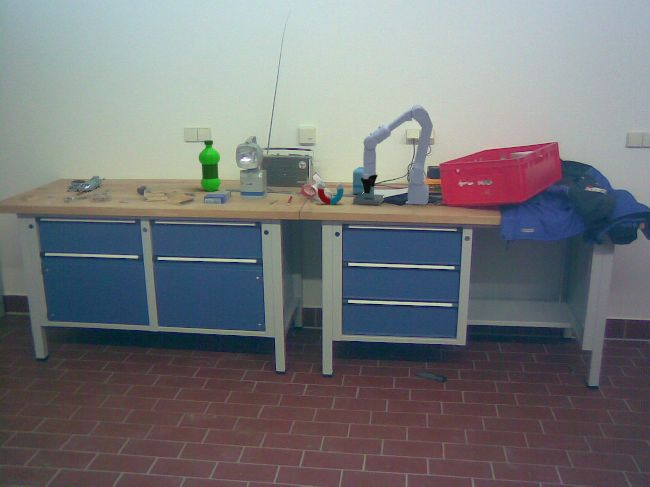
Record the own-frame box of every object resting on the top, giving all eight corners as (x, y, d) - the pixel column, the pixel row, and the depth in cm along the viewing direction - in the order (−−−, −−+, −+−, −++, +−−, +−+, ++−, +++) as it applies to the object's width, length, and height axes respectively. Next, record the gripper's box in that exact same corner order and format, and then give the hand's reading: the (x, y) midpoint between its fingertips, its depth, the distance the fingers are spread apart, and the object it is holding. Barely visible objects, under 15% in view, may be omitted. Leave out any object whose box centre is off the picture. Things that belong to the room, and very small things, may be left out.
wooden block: (374, 196, 304) (374, 186, 303) (372, 197, 300) (372, 188, 299) (365, 195, 305) (365, 186, 304) (363, 197, 302) (363, 187, 300)
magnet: (343, 203, 301) (343, 182, 298) (343, 205, 298) (343, 183, 295) (318, 203, 301) (318, 182, 299) (317, 204, 299) (317, 183, 296)
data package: (361, 195, 318) (361, 170, 315) (352, 194, 320) (352, 170, 316) (368, 190, 329) (368, 166, 326) (359, 189, 331) (359, 166, 327)
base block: (384, 200, 307) (384, 195, 307) (378, 205, 296) (378, 200, 296) (359, 198, 311) (359, 193, 310) (353, 204, 300) (353, 198, 299)
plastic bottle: (222, 191, 327) (220, 141, 320) (201, 192, 324) (198, 142, 317) (220, 187, 336) (218, 139, 329) (200, 188, 334) (197, 139, 327)
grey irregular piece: (79, 186, 347) (107, 183, 344) (53, 201, 321) (83, 199, 318) (77, 175, 344) (105, 173, 342) (50, 190, 319) (80, 188, 316)
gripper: (364, 159, 306) (364, 188, 310) (357, 164, 293) (356, 194, 297) (379, 160, 304) (378, 189, 308) (372, 165, 291) (372, 195, 295)
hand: (369, 191), depth 302 cm, fingers open, 7 cm apart
